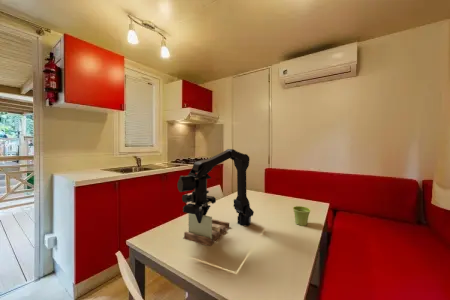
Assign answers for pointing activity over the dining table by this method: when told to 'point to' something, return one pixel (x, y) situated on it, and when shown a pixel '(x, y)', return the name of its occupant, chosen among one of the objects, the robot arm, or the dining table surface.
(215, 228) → the offcut
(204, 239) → the rack
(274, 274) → the dining table surface
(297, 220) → the plant pot
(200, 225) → the sheet
